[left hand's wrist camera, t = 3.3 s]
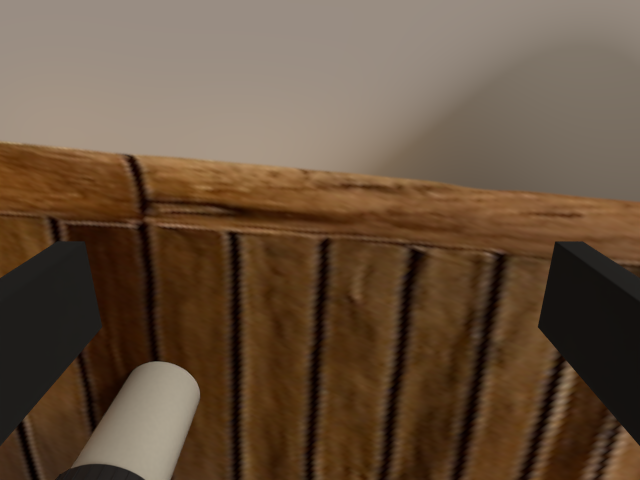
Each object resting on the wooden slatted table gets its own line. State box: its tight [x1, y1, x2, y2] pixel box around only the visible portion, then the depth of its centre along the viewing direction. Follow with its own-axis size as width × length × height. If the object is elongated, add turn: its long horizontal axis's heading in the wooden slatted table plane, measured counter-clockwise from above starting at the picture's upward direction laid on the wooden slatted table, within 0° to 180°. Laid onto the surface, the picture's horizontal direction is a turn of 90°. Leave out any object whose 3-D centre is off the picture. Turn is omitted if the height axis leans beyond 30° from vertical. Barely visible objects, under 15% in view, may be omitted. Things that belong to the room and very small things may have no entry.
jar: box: [70, 362, 200, 480], centre depth 41 cm, size 8×8×15 cm
